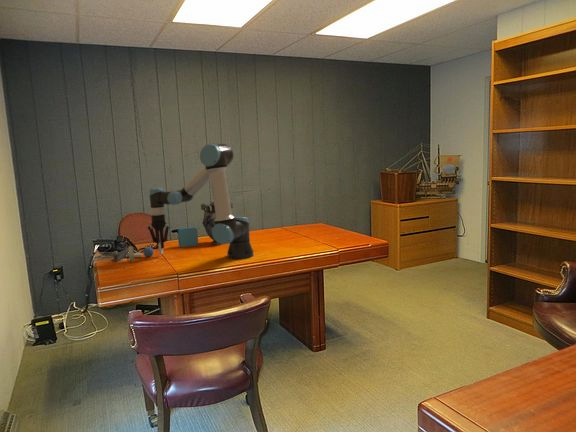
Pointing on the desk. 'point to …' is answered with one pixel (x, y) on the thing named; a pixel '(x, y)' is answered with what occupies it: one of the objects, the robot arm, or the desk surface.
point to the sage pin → (131, 253)
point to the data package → (188, 237)
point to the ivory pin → (135, 255)
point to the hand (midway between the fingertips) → (161, 253)
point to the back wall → (121, 255)
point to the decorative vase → (210, 219)
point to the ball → (148, 251)
